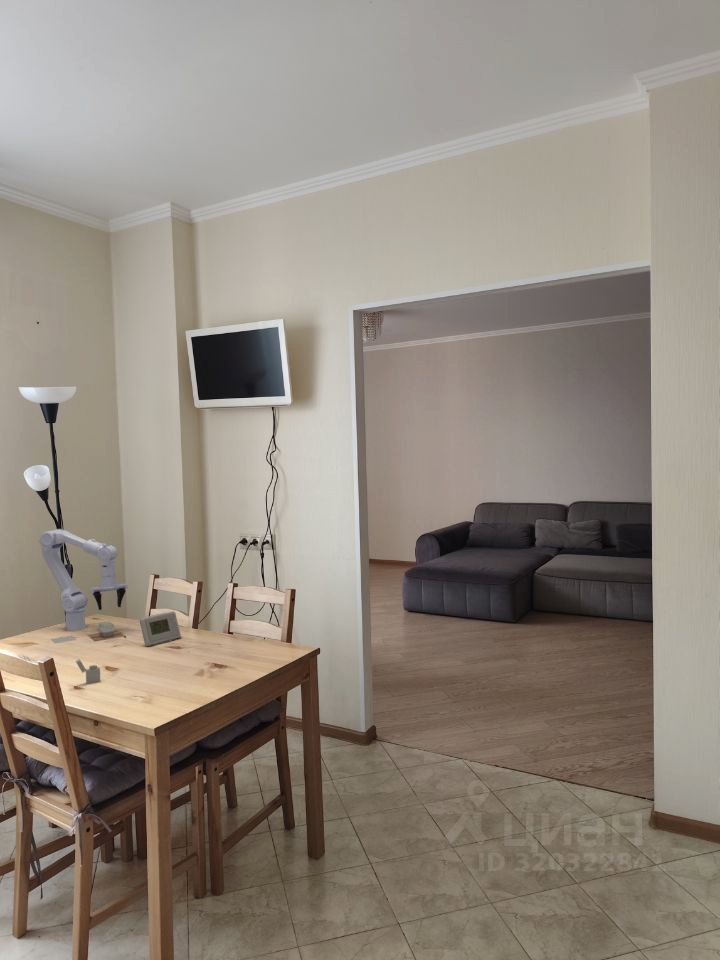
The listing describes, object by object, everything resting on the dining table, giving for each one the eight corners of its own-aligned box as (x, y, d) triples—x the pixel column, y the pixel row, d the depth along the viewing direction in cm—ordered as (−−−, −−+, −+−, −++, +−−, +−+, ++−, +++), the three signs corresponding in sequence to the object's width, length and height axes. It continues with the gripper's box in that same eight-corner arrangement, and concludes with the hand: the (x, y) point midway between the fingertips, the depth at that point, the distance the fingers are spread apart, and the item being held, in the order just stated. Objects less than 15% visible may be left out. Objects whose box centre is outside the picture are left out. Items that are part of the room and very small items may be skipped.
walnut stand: (87, 638, 276) (86, 635, 276) (117, 633, 283) (117, 630, 283) (94, 645, 267) (94, 641, 267) (126, 639, 274) (125, 636, 273)
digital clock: (145, 648, 262) (144, 620, 261) (136, 643, 269) (135, 616, 268) (185, 640, 272) (184, 613, 271) (175, 635, 279) (174, 609, 278)
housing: (103, 638, 271) (103, 625, 271) (99, 635, 276) (99, 622, 276) (113, 636, 273) (113, 624, 273) (109, 633, 278) (109, 621, 278)
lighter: (99, 679, 225) (98, 655, 225) (100, 681, 223) (99, 656, 223) (76, 684, 221) (75, 659, 221) (77, 685, 220) (76, 660, 219)
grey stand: (50, 642, 272) (50, 639, 271) (72, 639, 276) (72, 635, 276) (54, 647, 265) (54, 643, 265) (76, 643, 270) (76, 639, 269)
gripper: (92, 578, 276) (93, 612, 277) (129, 574, 285) (130, 607, 285) (88, 576, 282) (89, 609, 283) (124, 572, 290) (125, 604, 291)
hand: (109, 608), depth 284 cm, fingers open, 7 cm apart
